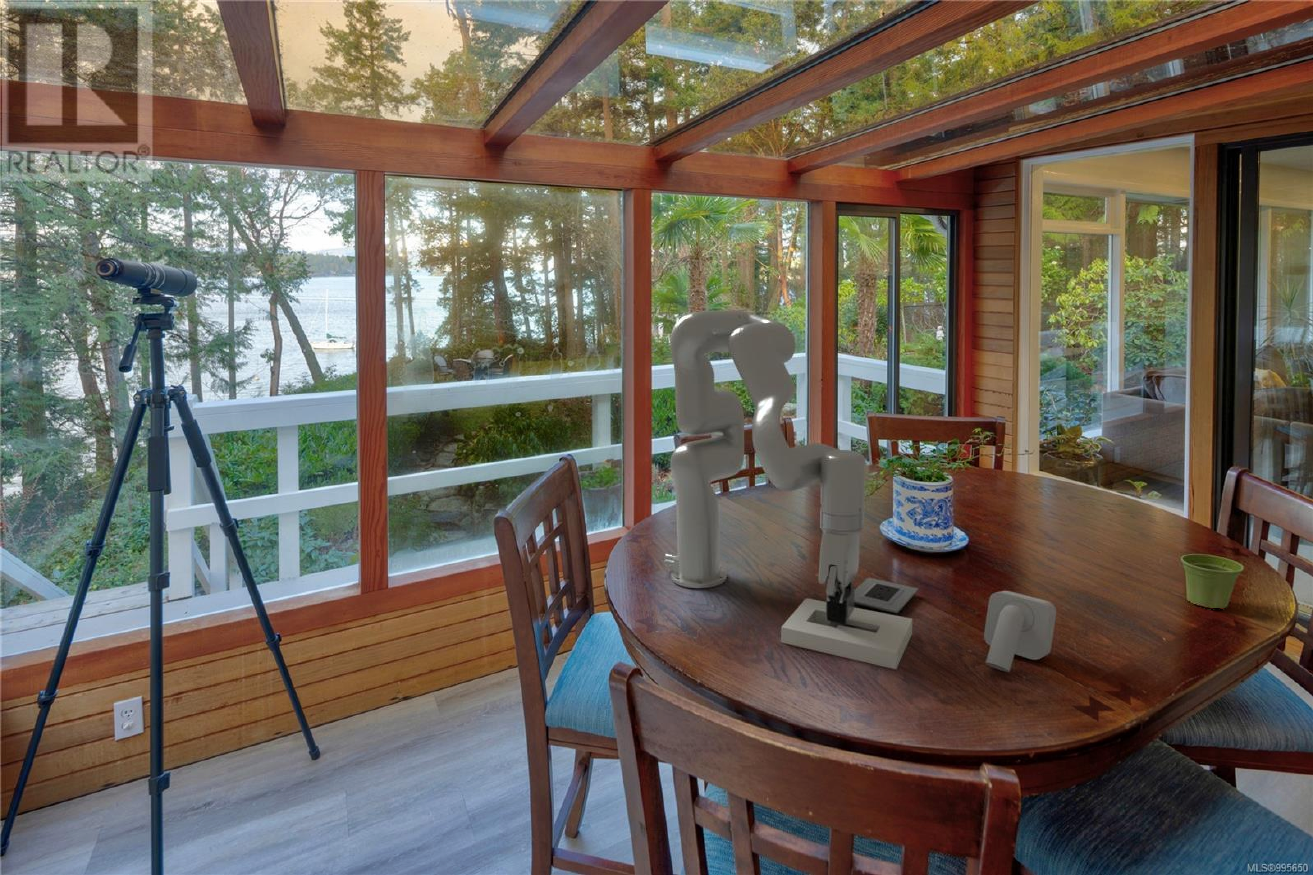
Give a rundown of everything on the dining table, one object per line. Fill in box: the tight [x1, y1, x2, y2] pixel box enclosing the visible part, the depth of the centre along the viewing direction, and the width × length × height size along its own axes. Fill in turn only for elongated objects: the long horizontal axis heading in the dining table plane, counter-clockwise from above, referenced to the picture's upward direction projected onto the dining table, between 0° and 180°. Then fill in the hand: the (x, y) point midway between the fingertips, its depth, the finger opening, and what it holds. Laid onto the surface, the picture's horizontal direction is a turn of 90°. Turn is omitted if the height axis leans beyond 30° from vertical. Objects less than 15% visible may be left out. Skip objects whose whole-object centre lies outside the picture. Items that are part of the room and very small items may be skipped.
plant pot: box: [1180, 553, 1245, 608], centre depth 129 cm, size 9×9×9 cm
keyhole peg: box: [825, 588, 855, 628], centre depth 121 cm, size 4×4×9 cm
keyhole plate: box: [780, 597, 913, 670], centre depth 121 cm, size 20×14×3 cm
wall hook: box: [983, 590, 1057, 673], centre depth 111 cm, size 10×12×12 cm
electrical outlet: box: [854, 577, 919, 615], centre depth 136 cm, size 13×10×2 cm
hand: (839, 615), depth 121 cm, fingers closed on keyhole peg, 4 cm apart
